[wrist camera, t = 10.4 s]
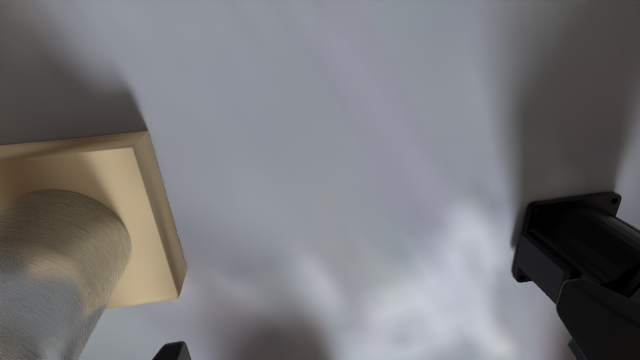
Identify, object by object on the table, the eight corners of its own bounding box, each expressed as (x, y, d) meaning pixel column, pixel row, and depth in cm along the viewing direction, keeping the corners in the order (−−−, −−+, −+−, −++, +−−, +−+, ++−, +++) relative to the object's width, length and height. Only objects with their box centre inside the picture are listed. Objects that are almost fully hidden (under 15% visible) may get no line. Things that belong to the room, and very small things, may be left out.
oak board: (148, 130, 19) (132, 147, 16) (187, 269, 23) (178, 298, 20) (-43, 149, 18) (-87, 169, 15) (32, 290, 22) (5, 323, 19)
